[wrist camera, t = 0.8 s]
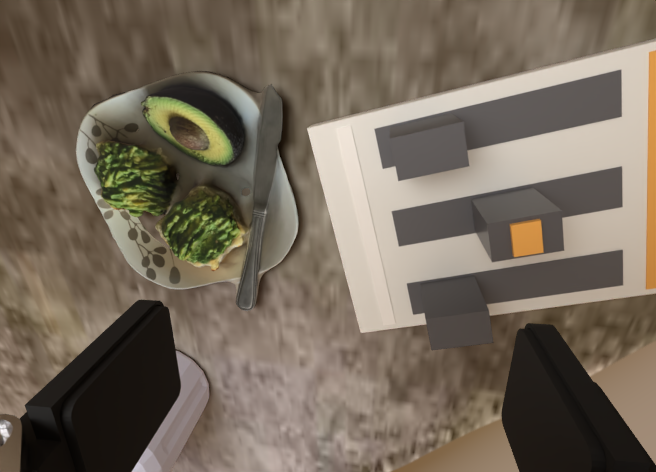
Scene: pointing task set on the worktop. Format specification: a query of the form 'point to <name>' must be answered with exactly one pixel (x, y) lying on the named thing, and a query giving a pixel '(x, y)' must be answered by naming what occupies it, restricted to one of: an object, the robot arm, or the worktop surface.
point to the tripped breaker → (518, 224)
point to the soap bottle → (177, 419)
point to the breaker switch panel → (494, 178)
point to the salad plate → (192, 180)
